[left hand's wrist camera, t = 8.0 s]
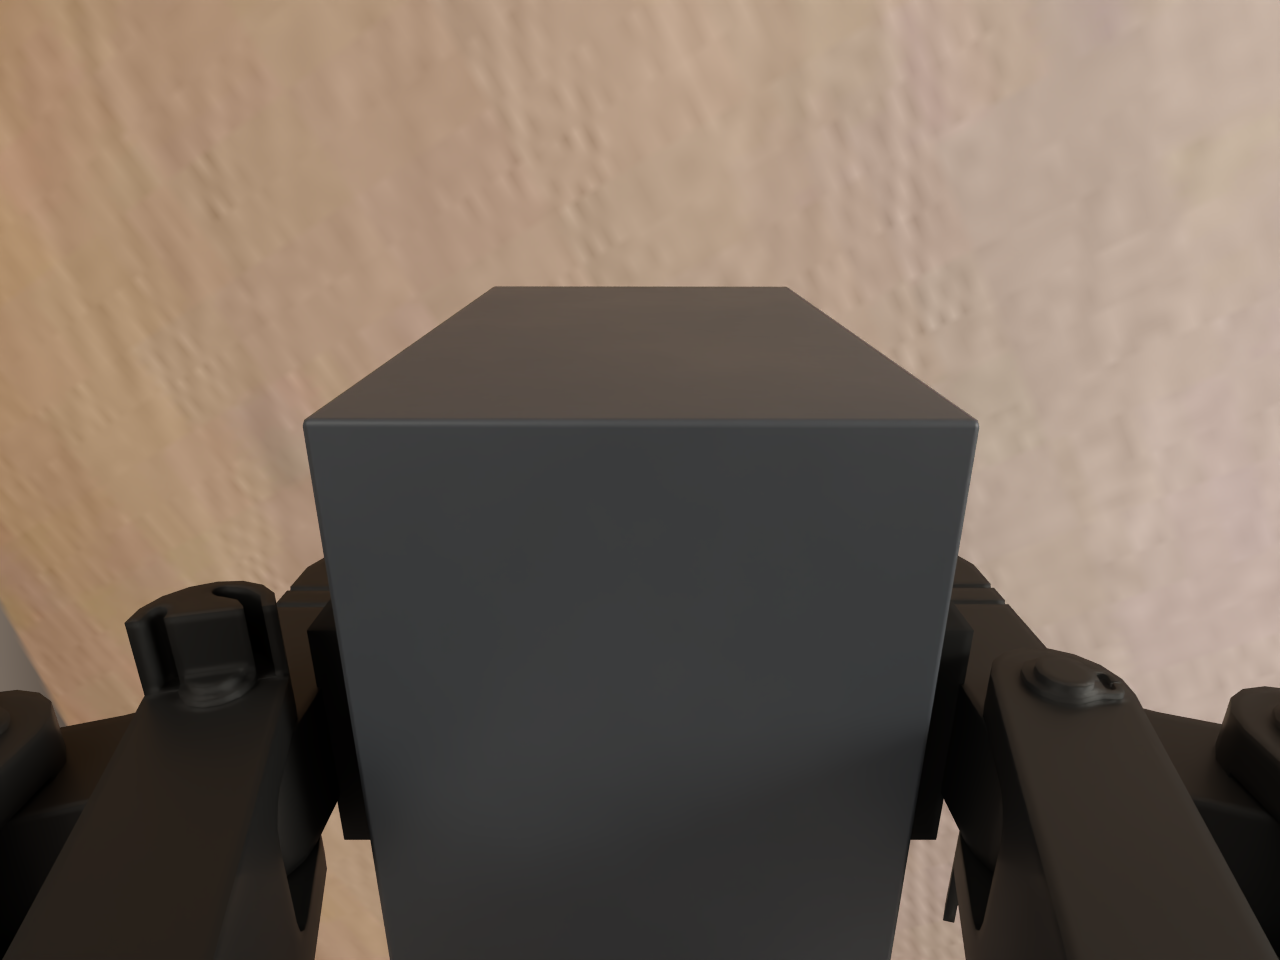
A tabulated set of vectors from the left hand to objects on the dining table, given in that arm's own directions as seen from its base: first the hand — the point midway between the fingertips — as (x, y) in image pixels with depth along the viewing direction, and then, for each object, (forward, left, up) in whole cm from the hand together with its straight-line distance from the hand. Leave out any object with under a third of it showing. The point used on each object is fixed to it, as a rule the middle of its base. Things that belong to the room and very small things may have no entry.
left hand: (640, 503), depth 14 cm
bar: (+8, 0, -1) cm, 8 cm away
